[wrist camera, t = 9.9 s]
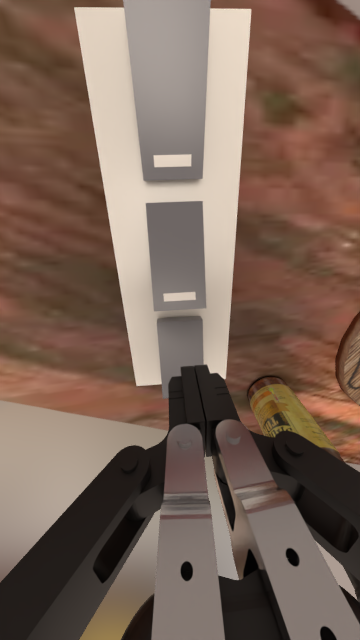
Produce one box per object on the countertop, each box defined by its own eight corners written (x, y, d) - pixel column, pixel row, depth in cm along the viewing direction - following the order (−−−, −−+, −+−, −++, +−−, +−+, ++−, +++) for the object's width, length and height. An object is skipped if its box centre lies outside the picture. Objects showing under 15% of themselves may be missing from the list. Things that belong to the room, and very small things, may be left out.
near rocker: (124, -10, 10) (118, -37, 8) (205, -9, 10) (212, -36, 9) (145, 178, 15) (143, 180, 13) (198, 176, 15) (202, 178, 14)
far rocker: (157, 317, 19) (156, 322, 17) (199, 314, 19) (202, 319, 17) (163, 387, 21) (162, 399, 19) (201, 384, 21) (204, 395, 19)
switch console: (100, 72, 16) (74, 7, 11) (230, 72, 16) (256, 9, 12) (141, 359, 27) (136, 386, 22) (217, 353, 27) (228, 378, 23)
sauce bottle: (251, 373, 29) (397, 610, 11) (291, 375, 30) (490, 602, 12) (240, 406, 32) (342, 643, 13) (277, 407, 32) (421, 634, 14)
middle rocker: (148, 212, 16) (145, 202, 14) (198, 210, 16) (202, 200, 14) (155, 309, 17) (153, 311, 15) (202, 306, 17) (206, 308, 15)
